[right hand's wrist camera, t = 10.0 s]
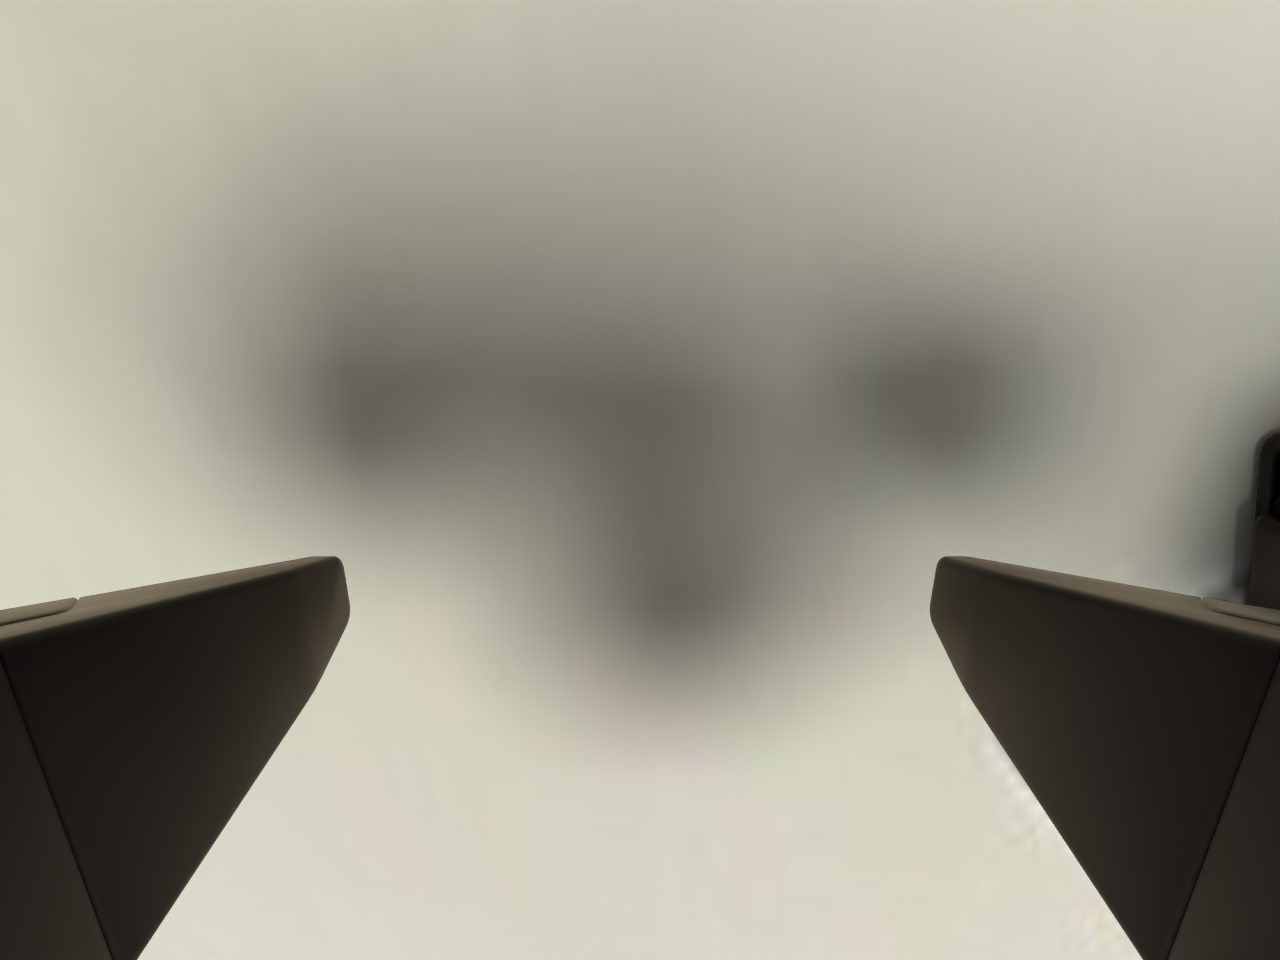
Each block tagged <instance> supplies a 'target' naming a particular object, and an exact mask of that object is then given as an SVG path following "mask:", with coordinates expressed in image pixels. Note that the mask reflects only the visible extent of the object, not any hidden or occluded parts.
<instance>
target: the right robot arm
mask: <svg viewBox="0 0 1280 960" xmlns="http://www.w3.org/2000/svg"><path fill="white" fill-rule="evenodd" d="M349 616H350V603H349V597H348V591H347V584H346V578H345V572H344V567H343V564H342V562H341V560H340V559H339V558H337V557H335V556H329V557H307V558H301V559H296V560H290V561H284V562H279V563H273V564H267V565H262V566H256V567H250V568H245V569H239V570H233V571H228V572H222V573H216V574H211V575H205V576H199V577H194V578H188V579H182V580H177V581H171V582H165V583H160V584H154V585H148V586H143V587H137V588H131V589H126V590H120V591H114V592H108V593H103V594H97V595H91V596H86V597H81V598H80V599H79V600H77V599H76V598H69V599H63V600H57V601H51V602H46V603H40V604H34V605H28V606H22V607H16V608H10V609H5V610H0V960H137V959H138V957H139V956H140V954H141V953H142V951H143V950H144V948H145V947H146V945H147V944H148V942H149V941H150V939H151V938H152V936H153V935H154V933H155V932H156V930H157V929H158V927H159V926H160V924H161V923H162V921H163V920H164V918H165V916H166V915H167V913H168V912H169V910H170V909H171V907H172V906H173V904H174V903H175V901H176V900H177V898H178V897H179V895H180V894H181V892H182V891H183V889H184V888H185V886H186V885H187V883H188V882H189V880H190V879H191V877H192V876H193V874H194V873H195V871H196V870H197V868H198V867H199V865H200V864H201V862H202V861H203V859H204V857H205V856H206V854H207V853H208V851H209V850H210V848H211V847H212V845H213V844H214V842H215V841H216V839H217V838H218V836H219V835H220V833H221V832H222V830H223V829H224V827H225V826H226V824H227V823H228V821H229V820H230V818H231V817H232V815H233V814H234V812H235V811H236V809H237V808H238V806H239V805H240V803H241V802H242V800H243V798H244V797H245V795H246V794H247V792H248V791H249V789H250V788H251V786H252V785H253V783H254V782H255V780H256V779H257V777H258V776H259V774H260V773H261V771H262V770H263V768H264V767H265V765H266V764H267V762H268V761H269V759H270V758H271V756H272V755H273V753H274V752H275V750H276V749H277V747H278V746H279V744H280V742H281V741H282V739H283V738H284V736H285V735H286V733H287V732H288V730H289V729H290V727H291V726H292V724H293V723H294V721H295V720H296V718H297V717H298V715H299V714H300V712H301V711H302V709H303V708H304V706H305V705H306V703H307V702H308V700H309V698H310V697H311V695H312V694H313V692H314V690H315V689H316V687H317V685H318V683H319V681H320V679H321V677H322V675H323V673H324V671H325V669H326V667H327V665H328V663H329V661H330V659H331V657H332V655H333V653H334V651H335V648H336V646H337V644H338V642H339V640H340V638H341V636H342V634H343V632H344V630H345V628H346V626H347V623H348V620H349ZM930 616H931V620H932V623H933V626H934V628H935V630H936V632H937V634H938V636H939V638H940V640H941V642H942V644H943V646H944V648H945V651H946V653H947V655H948V657H949V659H950V661H951V663H952V665H953V667H954V669H955V671H956V673H957V675H958V677H959V679H960V681H961V683H962V685H963V687H964V689H965V690H966V692H967V694H968V695H969V697H970V698H971V700H972V702H973V703H974V705H975V706H976V708H977V709H978V711H979V712H980V714H981V715H982V717H983V718H984V720H985V721H986V723H987V724H988V726H989V727H990V729H991V730H992V732H993V733H994V735H995V736H996V738H997V739H998V741H999V742H1000V744H1001V745H1002V747H1003V748H1004V750H1005V752H1006V753H1007V755H1008V756H1009V758H1010V759H1011V761H1012V762H1013V764H1014V765H1015V767H1016V768H1017V770H1018V771H1019V773H1020V774H1021V776H1022V777H1023V779H1024V780H1025V782H1026V783H1027V785H1028V786H1029V788H1030V789H1031V791H1032V792H1033V794H1034V795H1035V797H1036V798H1037V800H1038V801H1039V803H1040V804H1041V806H1042V807H1043V809H1044V810H1045V812H1046V813H1047V815H1048V817H1049V818H1050V820H1051V821H1052V823H1053V824H1054V826H1055V827H1056V829H1057V830H1058V832H1059V833H1060V835H1061V836H1062V838H1063V839H1064V841H1065V842H1066V844H1067V845H1068V847H1069V848H1070V850H1071V851H1072V853H1073V854H1074V856H1075V857H1076V859H1077V860H1078V862H1079V863H1080V865H1081V866H1082V868H1083V870H1084V871H1085V873H1086V874H1087V876H1088V877H1089V879H1090V880H1091V882H1092V883H1093V885H1094V886H1095V888H1096V889H1097V891H1098V892H1099V894H1100V895H1101V897H1102V898H1103V900H1104V901H1105V903H1106V904H1107V906H1108V907H1109V909H1110V910H1111V912H1112V913H1113V915H1114V916H1115V918H1116V919H1117V921H1118V923H1119V924H1120V926H1121V927H1122V929H1123V930H1124V932H1125V933H1126V935H1127V936H1128V938H1129V939H1130V941H1131V942H1132V944H1133V945H1134V947H1135V948H1136V950H1137V951H1138V953H1139V954H1140V956H1141V957H1142V959H1143V960H1280V433H1277V434H1275V435H1273V436H1272V437H1271V438H1269V439H1268V440H1267V441H1266V443H1265V444H1264V445H1263V447H1262V450H1261V453H1260V463H1259V477H1258V490H1257V503H1256V516H1255V530H1254V543H1253V556H1252V569H1251V583H1250V596H1249V605H1246V604H1240V603H1234V602H1229V601H1223V600H1217V599H1211V598H1204V599H1203V600H1201V599H1200V598H1199V597H1195V596H1189V595H1183V594H1178V593H1172V592H1166V591H1161V590H1155V589H1149V588H1144V587H1138V586H1132V585H1127V584H1121V583H1115V582H1110V581H1104V580H1098V579H1092V578H1087V577H1081V576H1075V575H1070V574H1064V573H1058V572H1053V571H1047V570H1041V569H1036V568H1030V567H1024V566H1019V565H1013V564H1007V563H1001V562H996V561H990V560H984V559H979V558H973V557H964V556H945V557H943V558H941V559H940V560H939V562H938V564H937V567H936V572H935V578H934V584H933V591H932V597H931V603H930Z"/></svg>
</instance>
